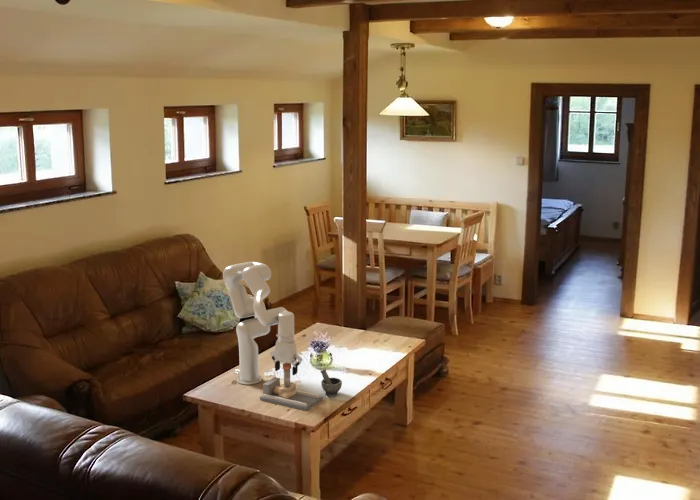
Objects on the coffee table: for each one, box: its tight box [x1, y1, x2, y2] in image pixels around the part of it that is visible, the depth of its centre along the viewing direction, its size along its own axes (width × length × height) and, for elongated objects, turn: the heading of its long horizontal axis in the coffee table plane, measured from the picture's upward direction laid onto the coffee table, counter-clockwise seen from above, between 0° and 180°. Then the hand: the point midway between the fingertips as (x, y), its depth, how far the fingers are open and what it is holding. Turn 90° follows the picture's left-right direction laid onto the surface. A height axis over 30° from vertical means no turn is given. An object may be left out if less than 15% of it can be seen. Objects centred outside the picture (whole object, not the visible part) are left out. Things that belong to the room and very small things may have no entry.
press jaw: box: [279, 362, 297, 399], centre depth 373 cm, size 4×9×16 cm, turn 151°
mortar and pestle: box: [320, 368, 343, 398], centre depth 380 cm, size 11×9×12 cm
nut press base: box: [259, 376, 323, 412], centre depth 374 cm, size 26×14×8 cm, turn 62°
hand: (286, 372), depth 373 cm, fingers open, 9 cm apart
